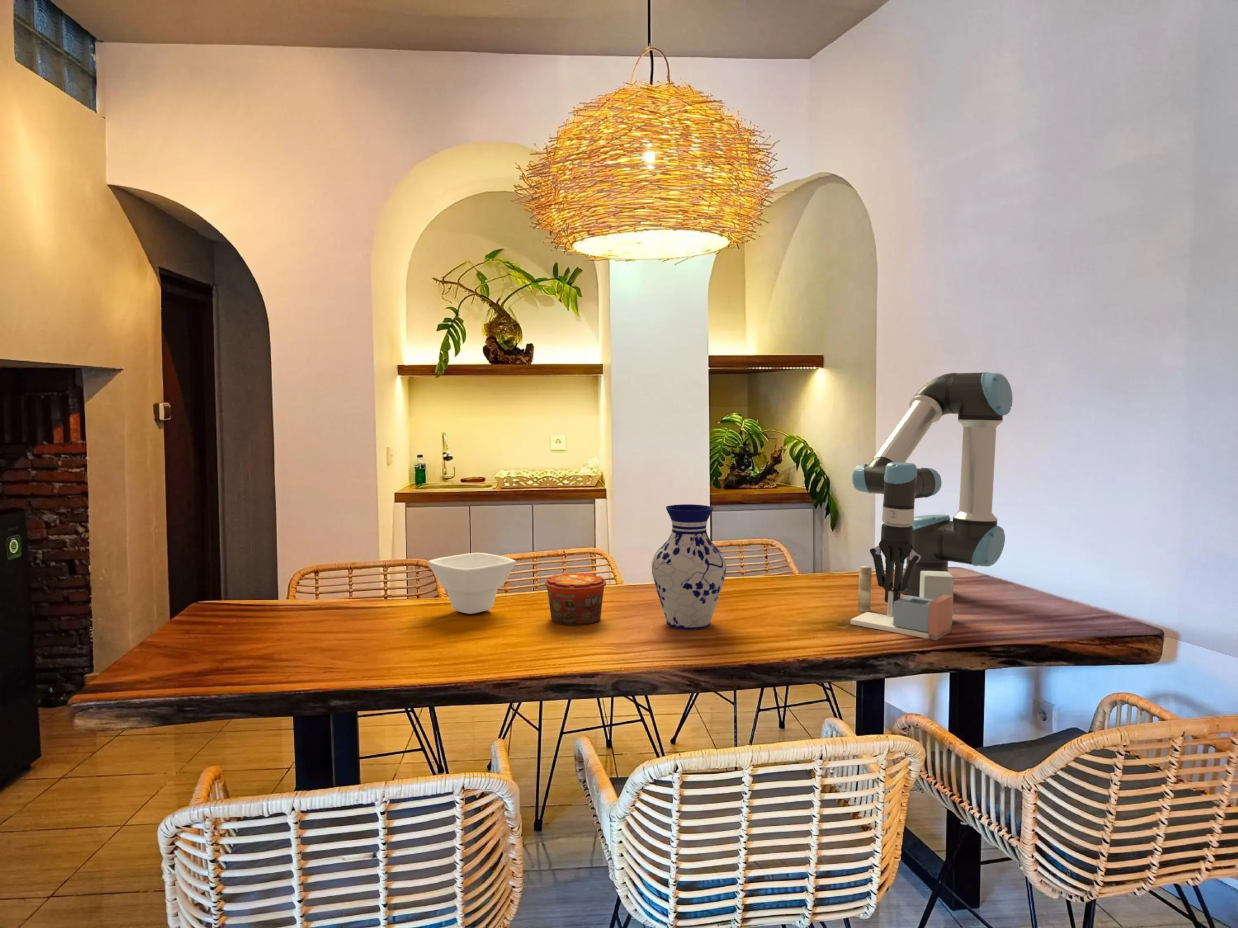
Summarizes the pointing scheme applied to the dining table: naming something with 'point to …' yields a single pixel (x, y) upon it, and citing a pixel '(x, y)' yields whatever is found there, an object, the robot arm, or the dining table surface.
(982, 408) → the robot arm
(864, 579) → the dowel
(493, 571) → the bowl
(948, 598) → the peg insertion fixture
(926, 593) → the supplement box
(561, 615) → the food container
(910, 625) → the socket block
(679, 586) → the vase
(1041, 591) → the dining table surface
